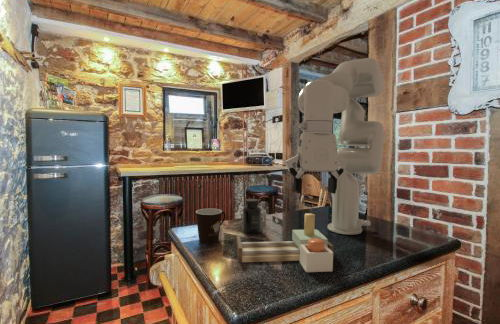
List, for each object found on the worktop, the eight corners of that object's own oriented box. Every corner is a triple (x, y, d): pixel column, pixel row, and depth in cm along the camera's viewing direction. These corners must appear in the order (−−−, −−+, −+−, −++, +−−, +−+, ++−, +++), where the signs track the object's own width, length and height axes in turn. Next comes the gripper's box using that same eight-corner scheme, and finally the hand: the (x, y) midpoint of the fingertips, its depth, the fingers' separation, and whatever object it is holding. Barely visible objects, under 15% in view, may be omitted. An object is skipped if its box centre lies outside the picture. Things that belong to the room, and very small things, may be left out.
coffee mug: (200, 247, 86) (200, 215, 85) (192, 238, 94) (192, 209, 93) (234, 241, 91) (234, 212, 91) (224, 233, 99) (224, 206, 98)
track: (320, 246, 88) (320, 234, 88) (332, 259, 78) (333, 245, 78) (236, 248, 85) (236, 235, 85) (238, 262, 75) (238, 248, 75)
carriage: (316, 238, 87) (317, 210, 87) (327, 249, 78) (328, 218, 78) (292, 239, 86) (292, 211, 86) (300, 250, 78) (300, 218, 77)
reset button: (320, 248, 76) (321, 238, 75) (326, 255, 71) (326, 243, 71) (305, 249, 75) (306, 238, 75) (310, 255, 71) (311, 244, 71)
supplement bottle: (261, 229, 105) (262, 198, 104) (260, 235, 98) (260, 202, 97) (243, 228, 106) (244, 197, 105) (241, 234, 99) (241, 201, 98)
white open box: (323, 261, 77) (324, 243, 77) (332, 271, 71) (333, 252, 71) (299, 262, 76) (300, 244, 76) (306, 272, 70) (306, 253, 70)
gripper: (291, 126, 67) (289, 195, 68) (355, 129, 71) (352, 195, 72) (282, 128, 75) (280, 190, 75) (340, 131, 78) (337, 190, 79)
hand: (315, 192), depth 74 cm, fingers open, 9 cm apart
